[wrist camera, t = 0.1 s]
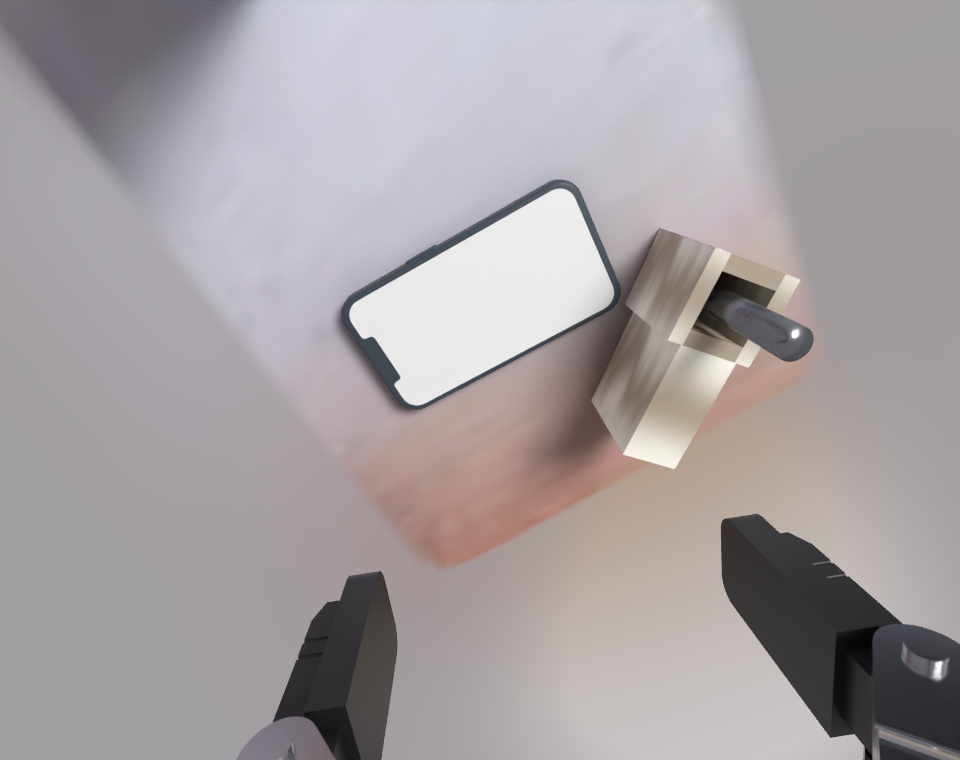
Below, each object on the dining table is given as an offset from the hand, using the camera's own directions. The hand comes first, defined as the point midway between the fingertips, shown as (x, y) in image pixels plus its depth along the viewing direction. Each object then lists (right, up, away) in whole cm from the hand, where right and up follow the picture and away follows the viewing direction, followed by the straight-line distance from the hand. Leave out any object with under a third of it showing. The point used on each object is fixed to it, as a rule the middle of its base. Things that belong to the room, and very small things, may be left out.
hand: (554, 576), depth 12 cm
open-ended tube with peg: (+10, +8, +22) cm, 25 cm away
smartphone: (-2, +10, +21) cm, 23 cm away
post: (+11, +11, +20) cm, 26 cm away
